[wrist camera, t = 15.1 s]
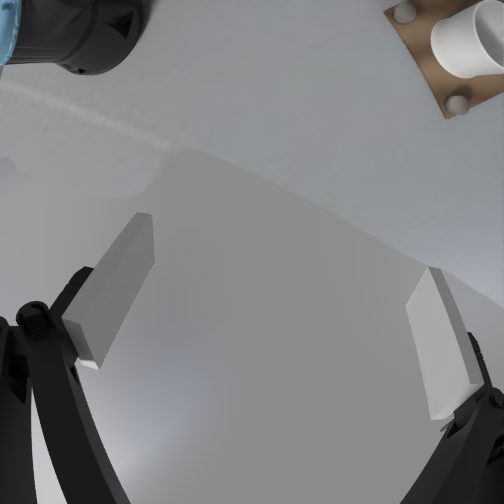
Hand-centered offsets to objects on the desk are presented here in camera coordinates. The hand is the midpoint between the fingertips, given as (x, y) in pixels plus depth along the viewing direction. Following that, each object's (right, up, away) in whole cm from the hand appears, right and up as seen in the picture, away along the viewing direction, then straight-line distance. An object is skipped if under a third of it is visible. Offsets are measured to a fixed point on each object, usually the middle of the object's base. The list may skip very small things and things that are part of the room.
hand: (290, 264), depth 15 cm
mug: (+26, +27, +13) cm, 40 cm away
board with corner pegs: (+26, +28, +14) cm, 40 cm away
